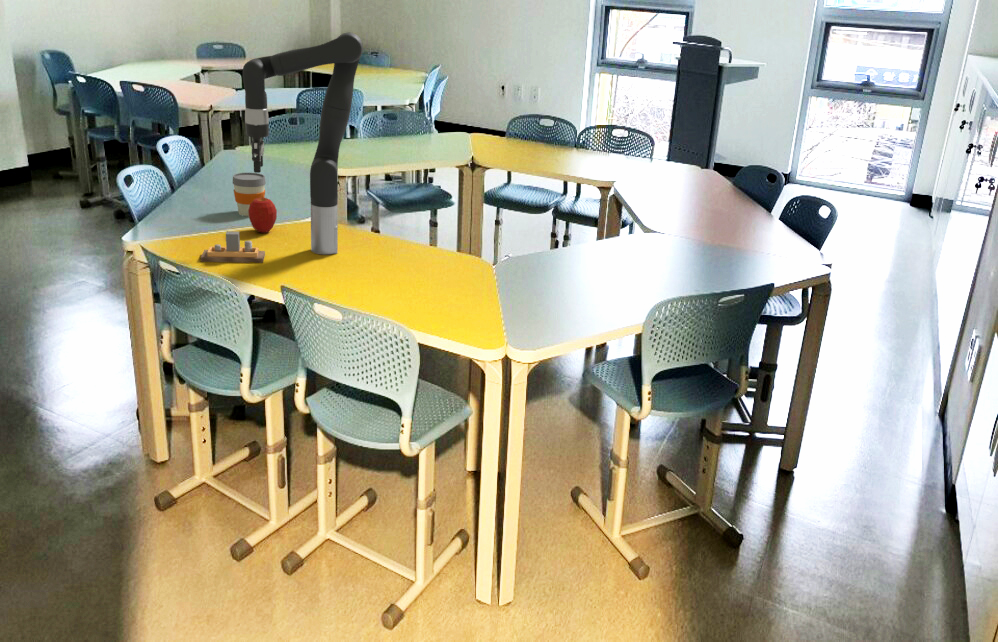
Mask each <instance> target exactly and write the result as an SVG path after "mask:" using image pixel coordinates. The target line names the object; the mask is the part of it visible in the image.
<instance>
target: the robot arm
mask: <svg viewBox="0 0 998 642" xmlns="http://www.w3.org/2000/svg"><path fill="white" fill-rule="evenodd" d="M363 52H364V45H363V41H362V39H361V38H360V36H359V35H357V34H356V33H354V32H349V31H347V32H343V33H341V34H340V35H339V36H338V37H336V38H334V39H331V40H330V41H326V42H324V43H322V44H319V45H314V46H310V47H303V48H295V49H291V50H287V51H283V52H280V53H275V54H273V55H268V56H262V57H256V58H253V59H250V60H248V61H247V62H246V63H244V65H243V68H242V82H243V88H244V91H245V92H244V93H245V94H244V95H245V96H244V99H245V100H244V105H245V112H244V122H245V123H244V124H245V136H247V137H249V138H250V137H251V138H252V140H251V142H250V146H251V160H252V162H253V173H259V174H261V168H262V167H263V166H264V152H265V140H264V138H267V137H269V135H270V130H269V129H270V127H269V125H270V124H269V122H270V121H269V111H268V96H267V92H266V89H265V88H266V86H265V85H266V84H265V80H266V79H269V78H273V77H276V76H278V77H280V76H281V77H282V76H287V75H291V74H295V73H298V72H303V71H307V70H309V69H313V68H316V67H317V68H318V67H320V66H325V65H332V64H333V70H332V74H331V77H330V80H329V83H328V85H327V89H326V90H325V94H324V99H323V102H322V108H321V113H320V119H319V136H318V138H319V139H318V144H317V147H316V150H315V153H314V157H313V159H312V163H311V166H310V170H309V189H310V192H309V197H310V251H311V253H314V254H317V255H332V254H338V240H339V239H338V235H339V233H338V230H339V229H338V226H339V225H338V224H339V223H338V198H339V195H338V189H339V188H338V187H339V186H338V181H339V180H338V179H339V177H338V175H339V173H338V165H339V163H338V162H339V155H340V148H341V144H342V141H343V138H344V135H345V133H346V130H347V126H348V124H349V119H350V115H351V111H352V110H351V109H352V105H353V104H352V103H353V94H354V84H355V77H356V73H357V69H358V66H359V63H360V59H361V57H362V54H363Z"/></svg>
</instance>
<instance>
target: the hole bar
mask: <svg viewBox="0 0 998 642" xmlns="http://www.w3.org/2000/svg"><path fill="white" fill-rule="evenodd" d="M240 241H241V240H240V231H232V230H231V231H226V233H225V245H226V246H221V252H215V246H209V247H208V249H207V250H208V252H207V255H208V256H210V257H257V256H258V252H259V251H260V250H259V247H254V246H252V252H245V246H242V247H241V243H240Z"/></svg>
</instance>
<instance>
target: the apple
mask: <svg viewBox="0 0 998 642" xmlns="http://www.w3.org/2000/svg"><path fill="white" fill-rule="evenodd" d="M248 213H249V216H248V219H249V222H250V223H251V226H252V228H253V229H254V230H255V231H257V232H258V233H265V234H266V233H269V232H270V231H271V230H272V229H273V227H274V226H275V223H276V220H277V208H276V205H275V204H274V202H273V201H272V200H271V199H269V198H267V197H265V198H263V196H262V198H257V199H255V200H254V201H253V202H252V203H251V204H250V207H249V209H248Z"/></svg>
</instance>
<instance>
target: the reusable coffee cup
mask: <svg viewBox="0 0 998 642" xmlns="http://www.w3.org/2000/svg"><path fill="white" fill-rule="evenodd" d="M265 176H266V175H264V174H262V173H255V172H238V173H234V174H233V175H232V184H233V188H234V189H233V195H234V201H235V202H236V205H237V211H238V215H240V216H242V215H244V216H243V217H249V213H248V209H249V207H250V204H251V203H252V202H253V201H254V200H255V199H257V198H262V196H263V198H266V189H265V187H266V183H267V182H266V177H265Z"/></svg>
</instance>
